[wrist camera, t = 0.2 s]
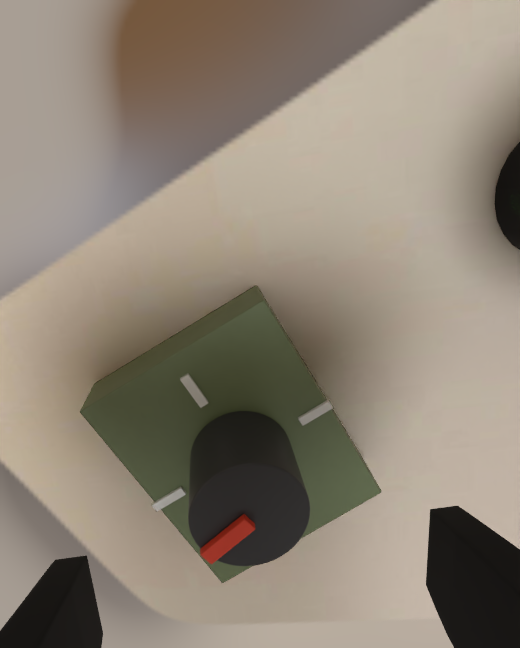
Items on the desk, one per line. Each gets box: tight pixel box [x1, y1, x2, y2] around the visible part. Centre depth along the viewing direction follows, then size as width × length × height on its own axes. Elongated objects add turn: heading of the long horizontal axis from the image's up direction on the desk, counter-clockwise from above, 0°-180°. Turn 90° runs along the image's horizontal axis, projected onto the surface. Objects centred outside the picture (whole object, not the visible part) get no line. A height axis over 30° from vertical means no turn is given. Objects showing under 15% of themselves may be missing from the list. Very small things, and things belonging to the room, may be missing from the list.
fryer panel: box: [80, 286, 381, 583], centre depth 20 cm, size 10×8×3 cm
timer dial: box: [188, 411, 310, 566], centre depth 17 cm, size 4×4×4 cm
